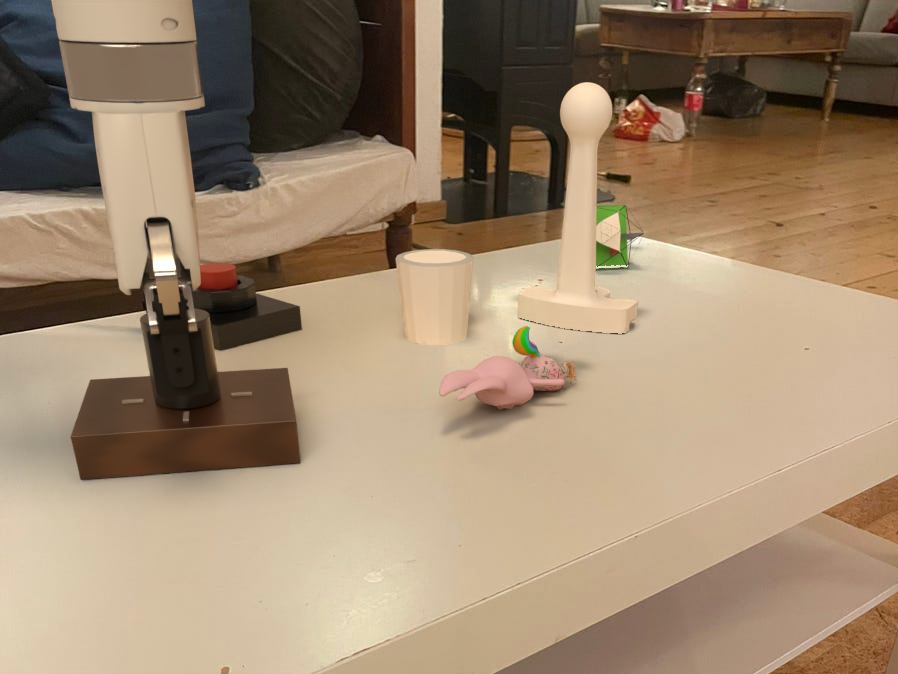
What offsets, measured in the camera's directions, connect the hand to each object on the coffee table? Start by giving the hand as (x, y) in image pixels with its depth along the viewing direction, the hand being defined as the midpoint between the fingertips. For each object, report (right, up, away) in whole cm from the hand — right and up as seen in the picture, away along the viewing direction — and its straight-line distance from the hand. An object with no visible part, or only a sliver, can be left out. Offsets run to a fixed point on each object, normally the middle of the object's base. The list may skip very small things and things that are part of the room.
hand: (179, 369), depth 66 cm
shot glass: (+16, +9, +24) cm, 30 cm away
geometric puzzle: (+35, +24, +47) cm, 63 cm away
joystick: (+30, +13, +29) cm, 43 cm away
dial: (0, -2, +1) cm, 2 cm away
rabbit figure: (+22, 0, +9) cm, 24 cm away
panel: (0, -4, +3) cm, 5 cm away
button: (-4, +14, +24) cm, 28 cm away
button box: (-4, +11, +26) cm, 28 cm away
